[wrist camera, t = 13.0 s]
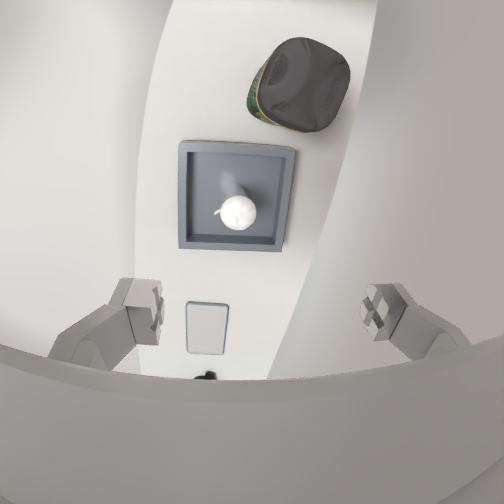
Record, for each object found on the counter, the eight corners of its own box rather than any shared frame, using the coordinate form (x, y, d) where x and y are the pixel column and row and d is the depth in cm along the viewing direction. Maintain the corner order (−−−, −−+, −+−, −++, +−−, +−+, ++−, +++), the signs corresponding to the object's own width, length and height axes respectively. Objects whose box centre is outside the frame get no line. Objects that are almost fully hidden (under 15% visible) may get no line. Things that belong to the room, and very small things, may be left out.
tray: (183, 140, 38) (178, 143, 35) (289, 146, 40) (295, 150, 36) (182, 237, 45) (178, 248, 42) (277, 241, 47) (281, 252, 44)
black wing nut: (228, 381, 66) (229, 390, 63) (199, 393, 68) (199, 401, 65) (209, 367, 62) (209, 376, 60) (179, 380, 64) (179, 389, 62)
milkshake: (219, 176, 40) (218, 195, 32) (254, 184, 41) (262, 205, 33) (212, 204, 42) (209, 230, 34) (246, 211, 43) (252, 239, 35)
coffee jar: (261, 57, 33) (289, 18, 17) (310, 77, 35) (369, 59, 19) (238, 113, 37) (248, 112, 21) (287, 132, 39) (332, 147, 23)
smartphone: (186, 353, 58) (185, 302, 51) (187, 350, 59) (186, 299, 52) (223, 355, 60) (229, 305, 52) (223, 352, 60) (229, 302, 53)
